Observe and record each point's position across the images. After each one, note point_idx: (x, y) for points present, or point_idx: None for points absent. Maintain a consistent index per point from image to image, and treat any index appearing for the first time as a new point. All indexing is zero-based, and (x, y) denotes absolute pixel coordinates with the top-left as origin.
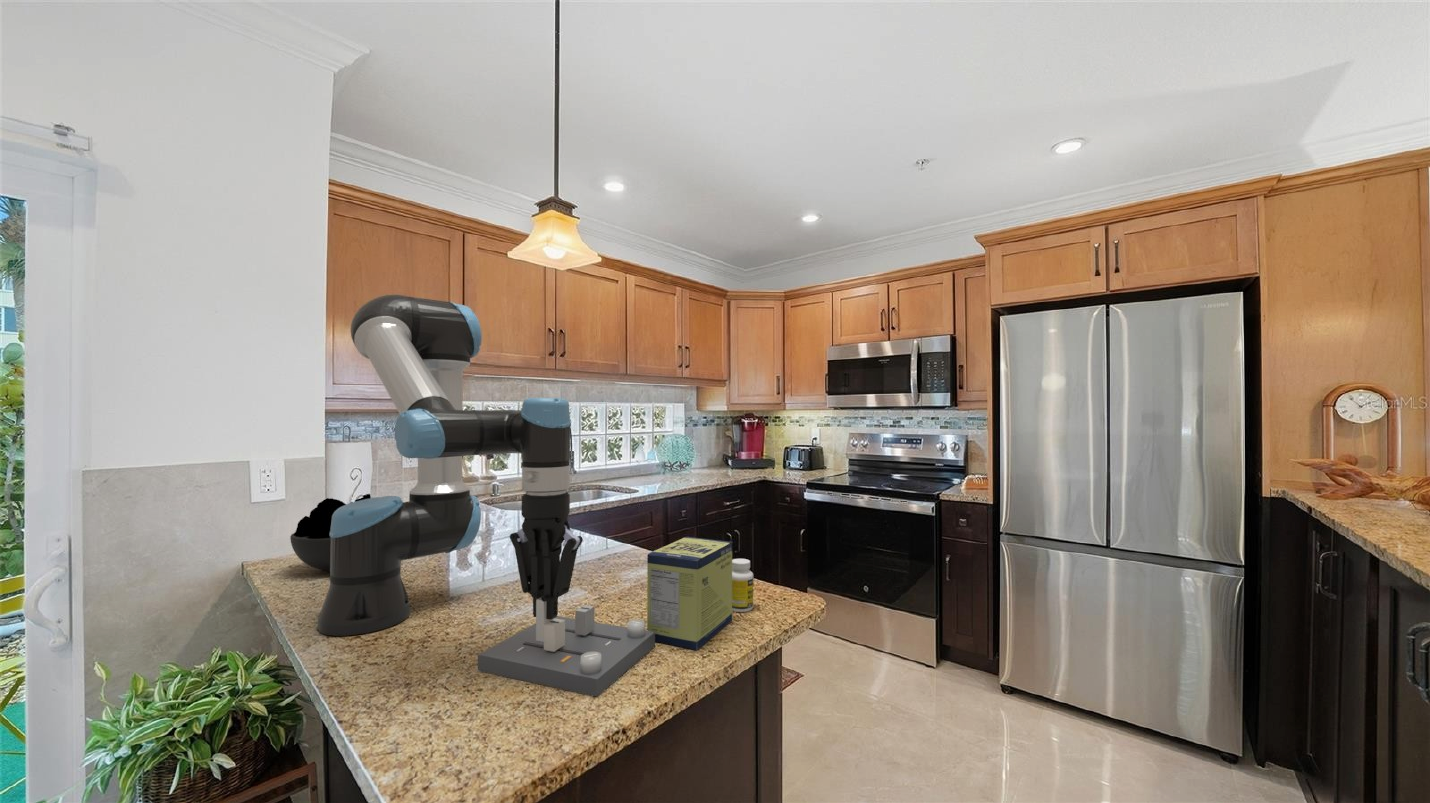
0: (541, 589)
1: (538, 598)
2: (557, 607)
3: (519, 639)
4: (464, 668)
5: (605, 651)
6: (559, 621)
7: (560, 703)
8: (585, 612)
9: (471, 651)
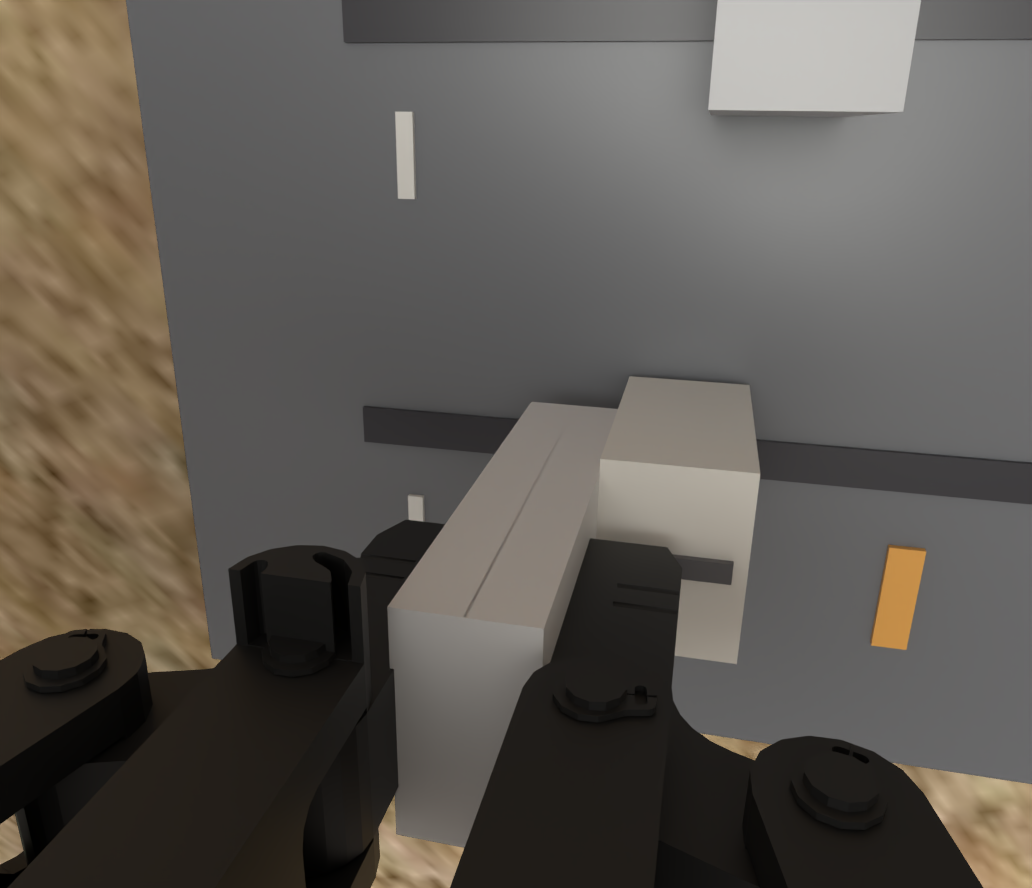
0: (324, 792)
1: (396, 791)
2: (675, 616)
3: (275, 368)
4: (178, 594)
5: None
6: (716, 532)
7: (1020, 830)
8: (902, 102)
9: (17, 394)
